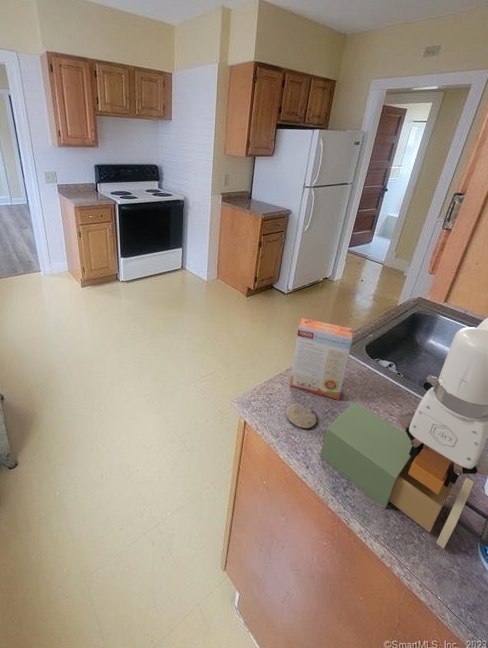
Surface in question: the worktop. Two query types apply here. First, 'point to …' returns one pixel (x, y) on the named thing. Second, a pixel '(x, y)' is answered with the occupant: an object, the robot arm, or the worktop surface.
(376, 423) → the cabinet
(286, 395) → the worktop surface
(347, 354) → the cracker box
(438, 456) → the orange block
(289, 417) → the flatbread
